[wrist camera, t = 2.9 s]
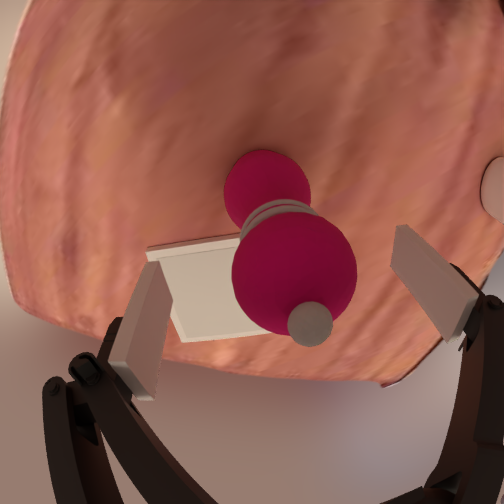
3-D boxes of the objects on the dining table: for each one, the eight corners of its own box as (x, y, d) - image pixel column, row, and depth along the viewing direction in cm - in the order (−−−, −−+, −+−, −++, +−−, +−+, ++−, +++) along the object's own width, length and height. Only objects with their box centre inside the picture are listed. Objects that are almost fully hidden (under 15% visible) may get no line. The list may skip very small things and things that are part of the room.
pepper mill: (209, 182, 26) (174, 349, 9) (261, 129, 24) (336, 207, 7) (262, 226, 29) (300, 403, 12) (312, 179, 27) (425, 321, 10)
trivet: (147, 247, 30) (145, 252, 29) (281, 227, 29) (283, 232, 28) (182, 337, 37) (182, 343, 36) (287, 324, 37) (289, 330, 36)
